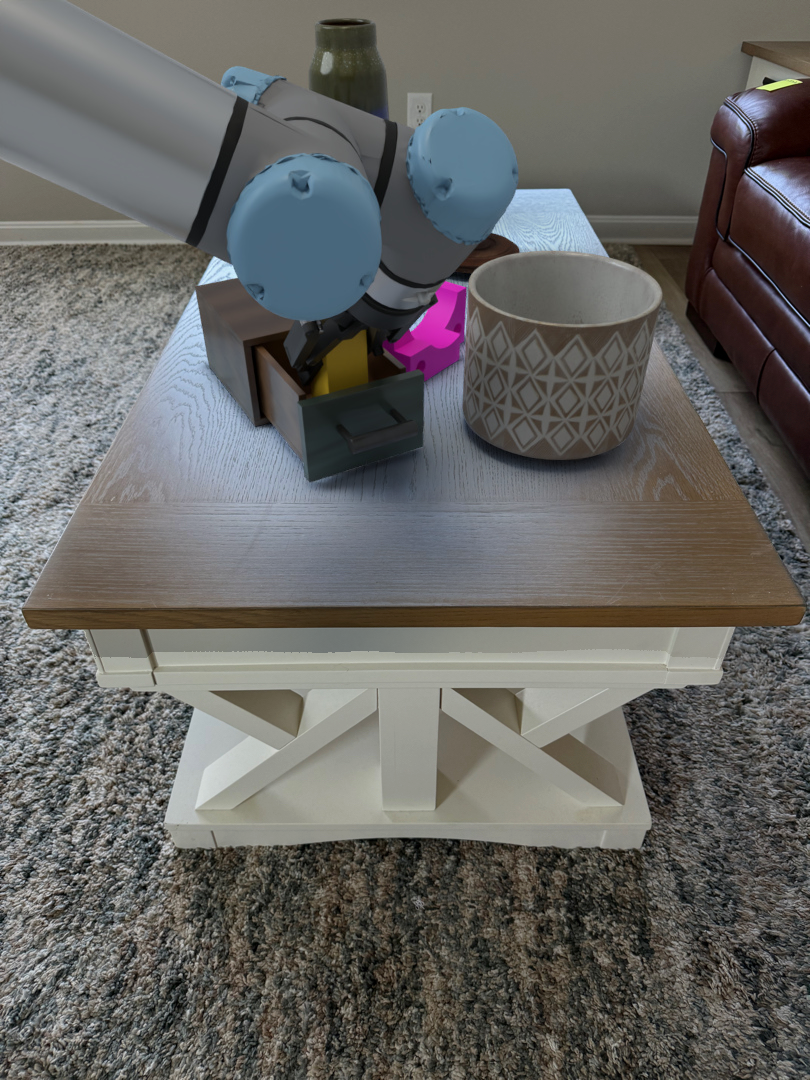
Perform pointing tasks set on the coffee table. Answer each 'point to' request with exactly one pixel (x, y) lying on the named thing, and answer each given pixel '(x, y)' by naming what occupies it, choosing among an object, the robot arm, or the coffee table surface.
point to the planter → (557, 352)
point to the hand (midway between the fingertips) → (323, 368)
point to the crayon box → (343, 367)
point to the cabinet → (237, 339)
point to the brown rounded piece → (488, 252)
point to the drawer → (341, 412)
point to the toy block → (434, 334)
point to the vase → (349, 65)
